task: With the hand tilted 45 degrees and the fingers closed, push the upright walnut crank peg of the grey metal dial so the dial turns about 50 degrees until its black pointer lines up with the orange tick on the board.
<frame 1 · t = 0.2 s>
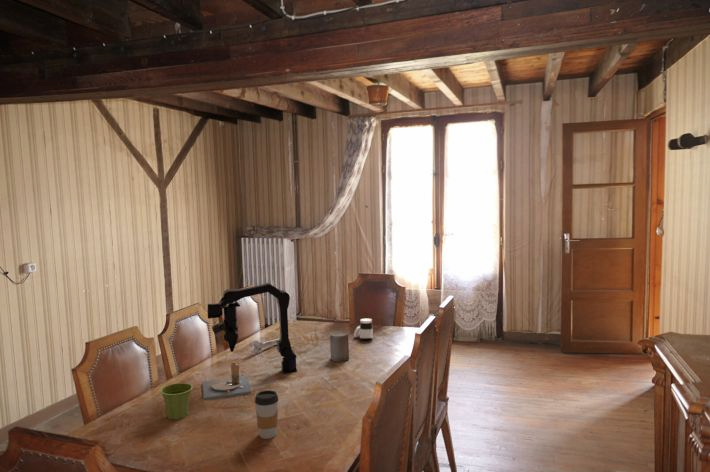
hand: (232, 348, 230), 14 cm above the table, tool pointing down, fingers open, 9 cm apart
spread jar: (363, 338, 292), on the table
pillar candle: (339, 359, 256), on the table
coffee cup: (267, 435, 175), on the table
dial: (225, 374, 218), point 6 cm above the table, hinge at 0.0°
wrench: (267, 349, 274), on the table
dial board: (226, 388, 219), on the table
plant pot: (178, 416, 192), on the table
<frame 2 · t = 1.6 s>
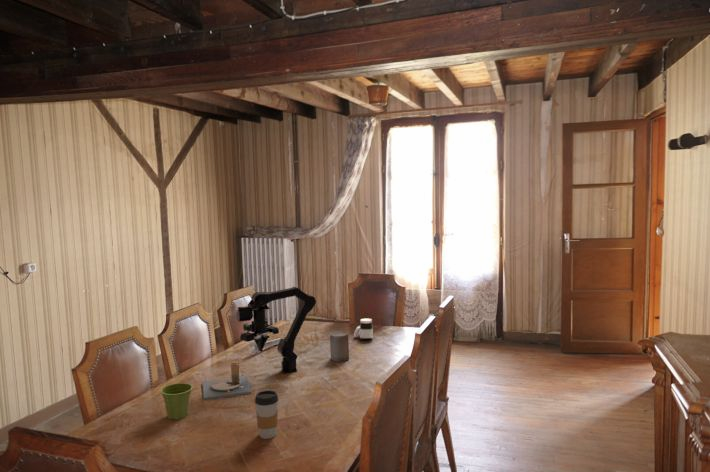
hand: (260, 351, 233), 12 cm above the table, tool pointing down, fingers closed
nothing on the table moved.
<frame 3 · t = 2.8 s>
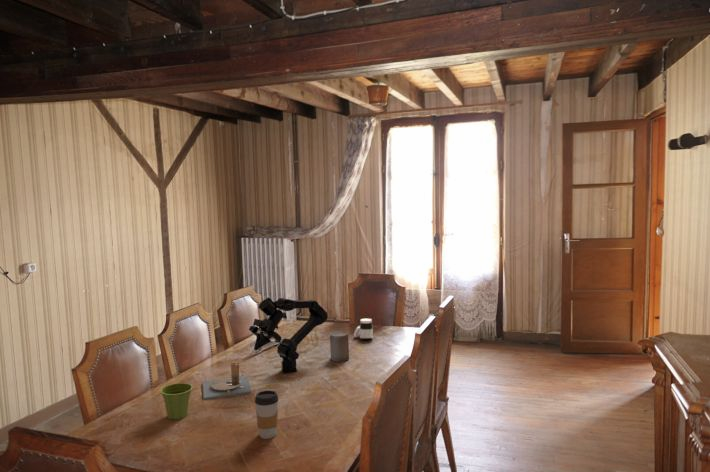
hand: (254, 349, 224), 15 cm above the table, tool tilted 45°, fingers closed
nothing on the table moved.
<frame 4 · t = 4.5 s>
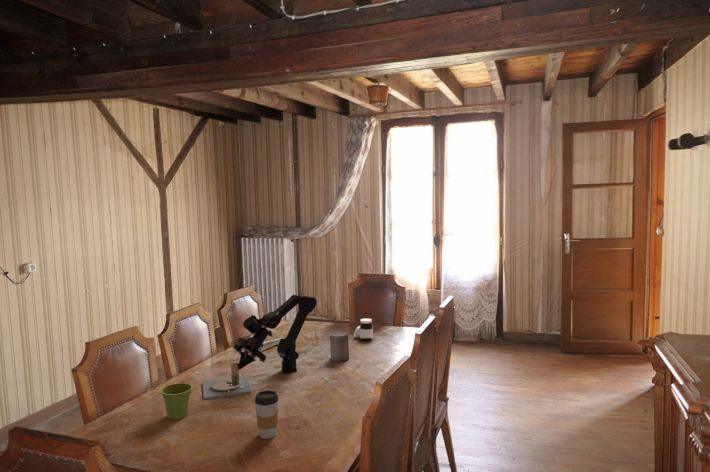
hand: (238, 368, 218), 9 cm above the table, tool tilted 45°, fingers closed, pressing on dial
dial: (225, 374, 218), point 6 cm above the table, hinge at 0.4°, touching gripper
everything else where it was.
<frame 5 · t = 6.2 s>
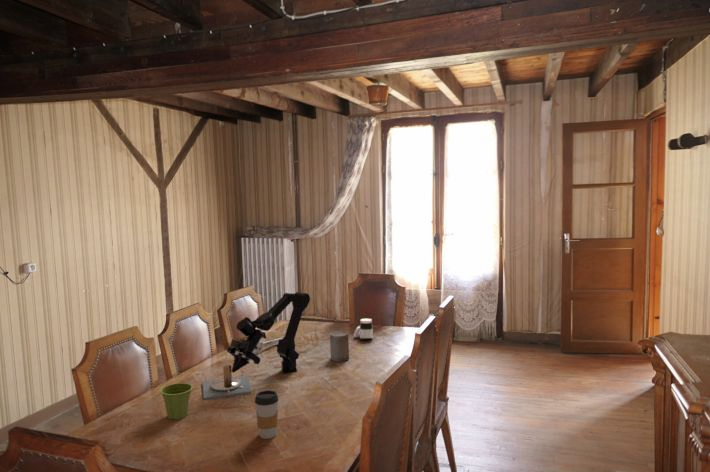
hand: (232, 371, 215), 9 cm above the table, tool tilted 45°, fingers closed
dial: (225, 374, 218), point 6 cm above the table, hinge at 47.9°
everything else where it was.
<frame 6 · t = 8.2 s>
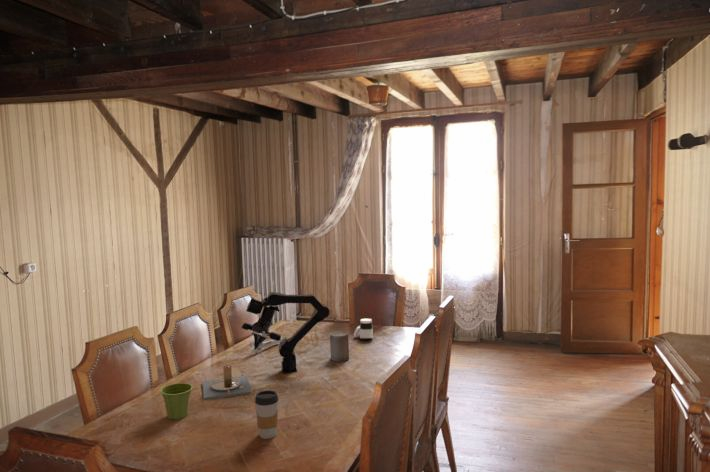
hand: (255, 349, 233), 13 cm above the table, tool tilted 25°, fingers closed
nothing on the table moved.
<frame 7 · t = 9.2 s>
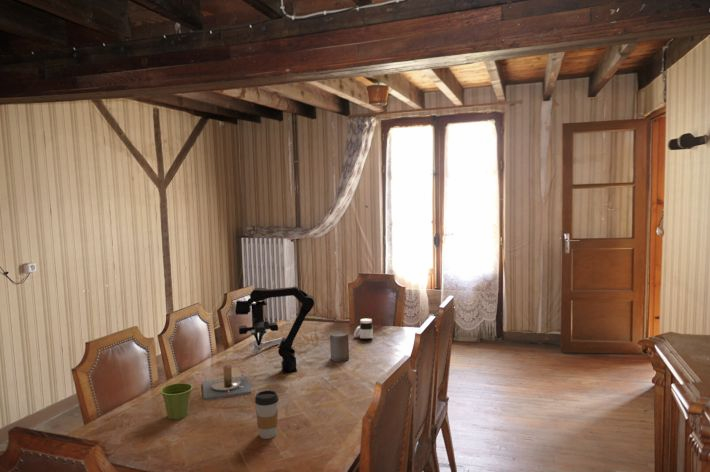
hand: (258, 345, 238), 13 cm above the table, tool pointing down, fingers closed
nothing on the table moved.
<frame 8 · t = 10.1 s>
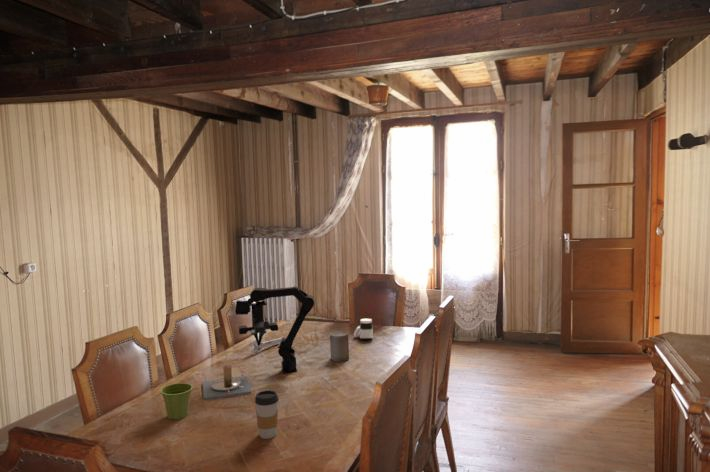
hand: (258, 345, 238), 13 cm above the table, tool pointing down, fingers closed
nothing on the table moved.
at the end: dial at +48° (first picture: +0°) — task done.
